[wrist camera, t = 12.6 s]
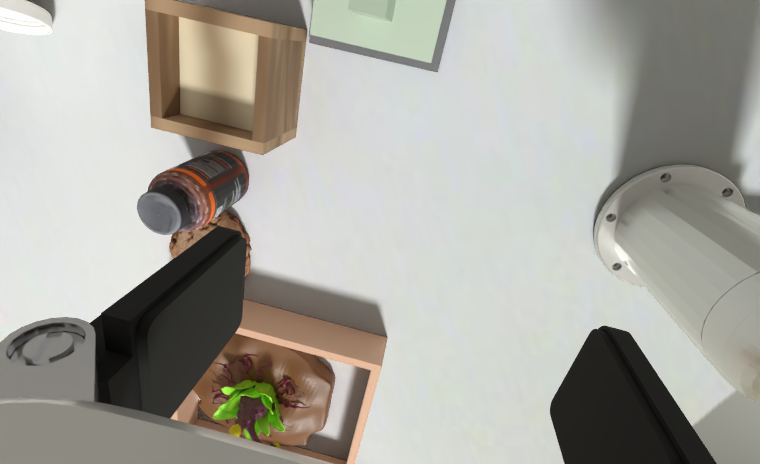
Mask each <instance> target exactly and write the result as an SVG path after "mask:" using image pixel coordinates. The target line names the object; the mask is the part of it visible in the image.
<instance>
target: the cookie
mask: <svg viewBox="0 0 760 464" xmlns="http://www.w3.org/2000/svg"><path fill="white" fill-rule="evenodd" d="M217 226H222V227H226V228H230V229H233V230H237V231H240V232H241V235H242V237H243V238H246V240H247V251H246V266H245V277H246V275H247V274H248V273H249V270H250V258H249V255H248V253H249V251H250V250H252V249H251V247H250V244H249V242H250V237H249V236H248V234H247V233H244V232H243V227H242V225H241V223H240V220H239V219H238V218H237V217H235V216H233V215H232V214H230V213H229V211H227V210H225V211H224V212H222V213H221V214H219V215H218V216H217V217H215V218H214V219H213V220H211V221H210V222H209V223H207V224H206V225H204V226H203V227H201V228H199V229H197V230H195V231H191V232H182V231H177V232H175V233H174V234H173V235H172V237H171V242H170V252H171V254H172V256H173V258H176V257H177V256H178V255H180V254H181V253H182V252H184V251H185V250H186V249H188V248H189V247H190V246H192V245H193V244H194V243H196V242H197V241H198V240H200V239H201V238H202V237H204V236H205V235H206V234H208V233H209V232H210V231H212V230H213V229H214V228H216V227H217Z"/></svg>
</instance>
